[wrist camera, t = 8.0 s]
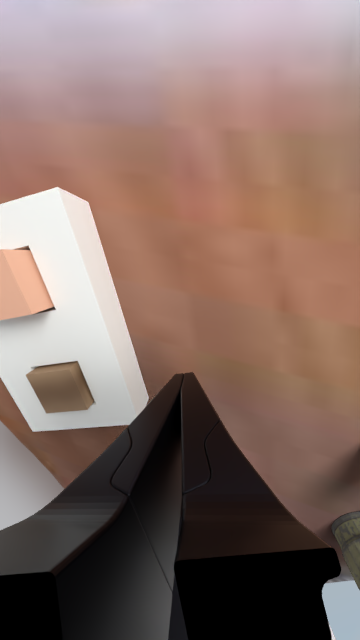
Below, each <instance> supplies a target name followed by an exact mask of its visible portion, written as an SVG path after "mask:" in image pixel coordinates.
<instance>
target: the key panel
mask: <svg viewBox="0 0 360 640" xmlns="http://www.w3.org/2000/svg"><path fill="white" fill-rule="evenodd" d="M0 249H10V250H31V253H32V255H33V257H34V260H35V262H36V264H37V267H38V269H39V271H40V274H41V276H42V278H43V281H44V283H45V285H46V288H47V290H48V292H49V295H50V297H51V300H52V302H53V304H54V307H52V308H49V309H46V310H43V311H40V312H37V313H35V314H32V315H26V316H21V317H15V318H10V319H5V320H0V377H1V379H2V381H3V382H4V384H5V386H6V387H7V389H8V391H9V392H10V394H11V396H12V397H13V399H14V401H15V402H16V404H17V406H18V408H19V409H20V411H21V413H22V414H23V416H24V418H25V419H26V421H27V423H28V424H29V426H30V428H31V429H32V431H33V432H36V431H50V430H63V429H77V428H91V427H105V426H118V425H130V424H131V422H132V421H133V420H134V419H135V418H136V417H137V416H138V415H139V414H140V413H141V411H142V410H143V409H144V408H145V407H146V404H147V401H148V399H149V397H148V394H147V391H146V387H145V384H144V381H143V378H142V374H141V371H140V368H139V365H138V361H137V358H136V355H135V352H134V348H133V345H132V342H131V339H130V336H129V332H128V329H127V326H126V323H125V319H124V316H123V313H122V310H121V306H120V303H119V300H118V297H117V293H116V290H115V287H114V284H113V280H112V277H111V274H110V271H109V267H108V264H107V261H106V258H105V254H104V251H103V248H102V245H101V241H100V238H99V235H98V232H97V229H96V225H95V222H94V219H93V216H92V212H91V209H90V206H89V203H88V202H87V201H85V200H83V199H81V198H79V197H77V196H75V195H73V194H71V193H69V192H67V191H65V190H63V189H61V188H58V187H56V188H53V189H50V190H46V191H43V192H40V193H36V194H33V195H30V196H26V197H23V198H20V199H16V200H13V201H10V202H6V203H3V204H0ZM72 361H78V363H79V365H80V368H81V370H82V372H83V375H84V377H85V379H86V382H87V384H88V387H89V389H90V391H91V394H92V396H93V398H94V402H93V403H92V405H91V406H90V407H89V409H88V410H80V411H69V412H58V413H47V414H46V412H45V410H44V408H43V406H42V405H41V403H40V401H39V399H38V397H37V395H36V394H35V392H34V390H33V388H32V386H31V384H30V382H29V381H28V379H27V377H26V374H28V373H29V372H31V371H32V370H34V369H35V368H36V367H38V366H43V365H50V364H58V363H65V362H72Z"/></svg>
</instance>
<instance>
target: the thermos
mask: <svg viewBox="0 0 360 640" xmlns="http://www.w3.org/2000/svg"><path fill="white" fill-rule="evenodd" d="M332 532H333V534H334V536H335V538H336V539H337V541H338V543H339V545H340V547H341V550H342V553H343V554H342V555H343V557H344V559H345V561H346V564H347V566H348V568H349V570H350V572H351V574H352V576H353V578H354V580H355V582H356V584H357V586H358V588H359V590H360V511H359V512H353V513H348V514H346V515H343V516H341V517H339V518H338V519H337V520H335V521H334V523H333V524H332Z"/></svg>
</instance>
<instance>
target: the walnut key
mask: <svg viewBox="0 0 360 640" xmlns="http://www.w3.org/2000/svg"><path fill="white" fill-rule="evenodd" d="M26 377H27V379H28V381H29V382H30V384H31V386H32V388H33V390H34V392H35V394H36V395H37V397H38V399H39V401H40V403H41V405H42V406H43V408H44V410H45V412H46V414H47V413H58V412H69V411H80V410H88V409H89V407H90V406H91V405H92V403H93V402H94V398H93V396H92V394H91V391H90V389H89V387H88V384H87V382H86V379H85V377H84V375H83V372H82V370H81V368H80V365H79V363H78V361H72V362H65V363H58V364H50V365H43V366H38V367H36V368H35V369H34V370H32V371H31V372H29V373H28V374H26Z"/></svg>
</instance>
